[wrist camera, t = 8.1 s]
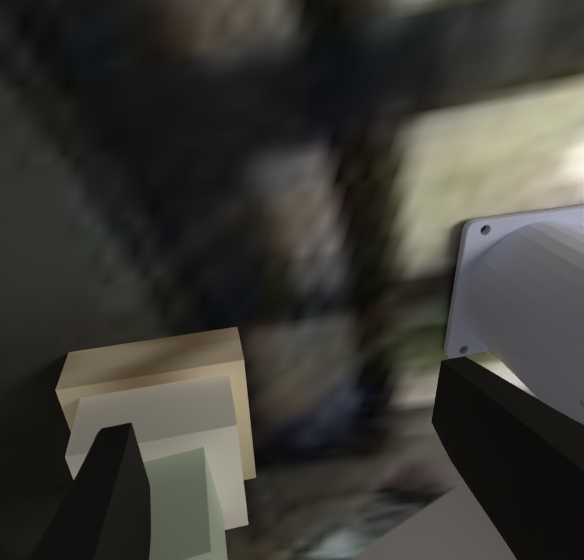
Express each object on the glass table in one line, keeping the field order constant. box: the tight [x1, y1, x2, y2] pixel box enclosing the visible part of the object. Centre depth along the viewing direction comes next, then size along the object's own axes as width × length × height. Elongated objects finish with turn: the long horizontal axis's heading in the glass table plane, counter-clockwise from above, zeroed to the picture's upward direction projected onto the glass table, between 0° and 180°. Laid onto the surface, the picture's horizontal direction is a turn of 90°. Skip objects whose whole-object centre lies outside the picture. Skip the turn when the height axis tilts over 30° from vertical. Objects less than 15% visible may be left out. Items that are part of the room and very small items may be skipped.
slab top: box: [65, 374, 248, 530], centre depth 19 cm, size 6×6×3 cm
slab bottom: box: [55, 327, 256, 480], centre depth 22 cm, size 8×8×3 cm
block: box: [143, 447, 228, 560], centre depth 16 cm, size 4×4×4 cm
